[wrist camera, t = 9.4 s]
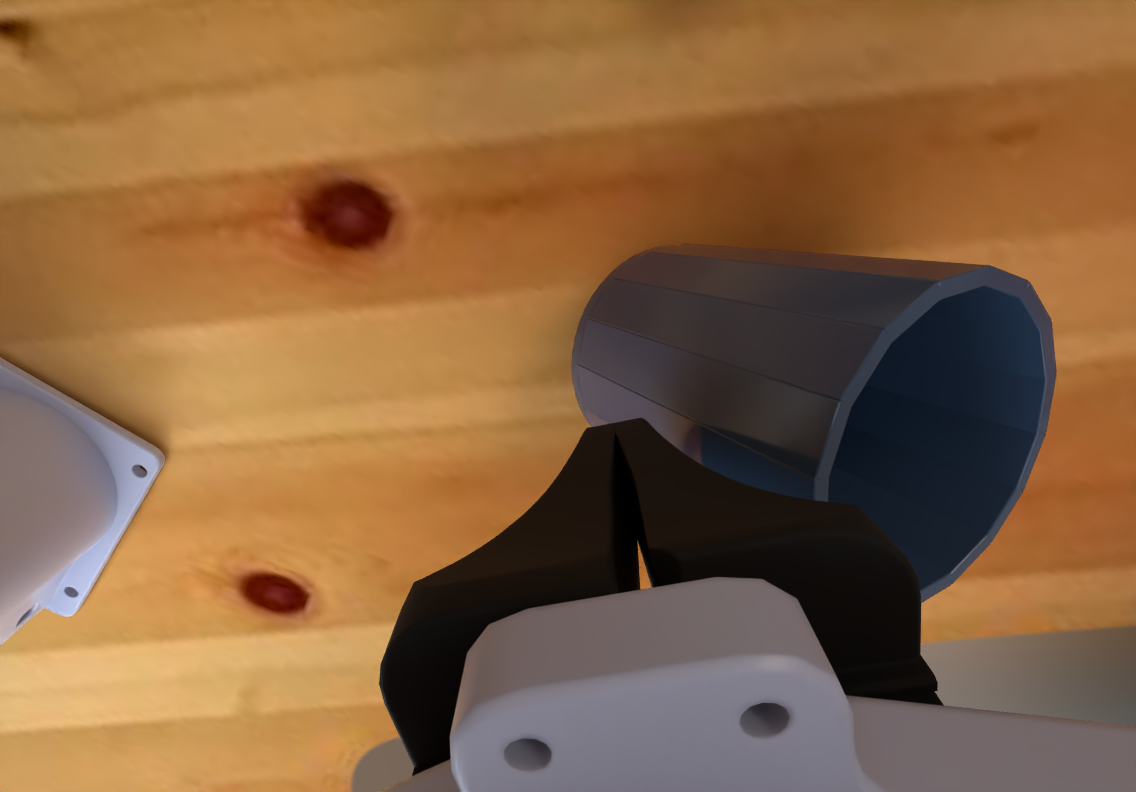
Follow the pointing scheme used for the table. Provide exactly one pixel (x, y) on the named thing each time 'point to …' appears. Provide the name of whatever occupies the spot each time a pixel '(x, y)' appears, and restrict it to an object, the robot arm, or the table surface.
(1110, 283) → the table surface
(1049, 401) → the blue cup
